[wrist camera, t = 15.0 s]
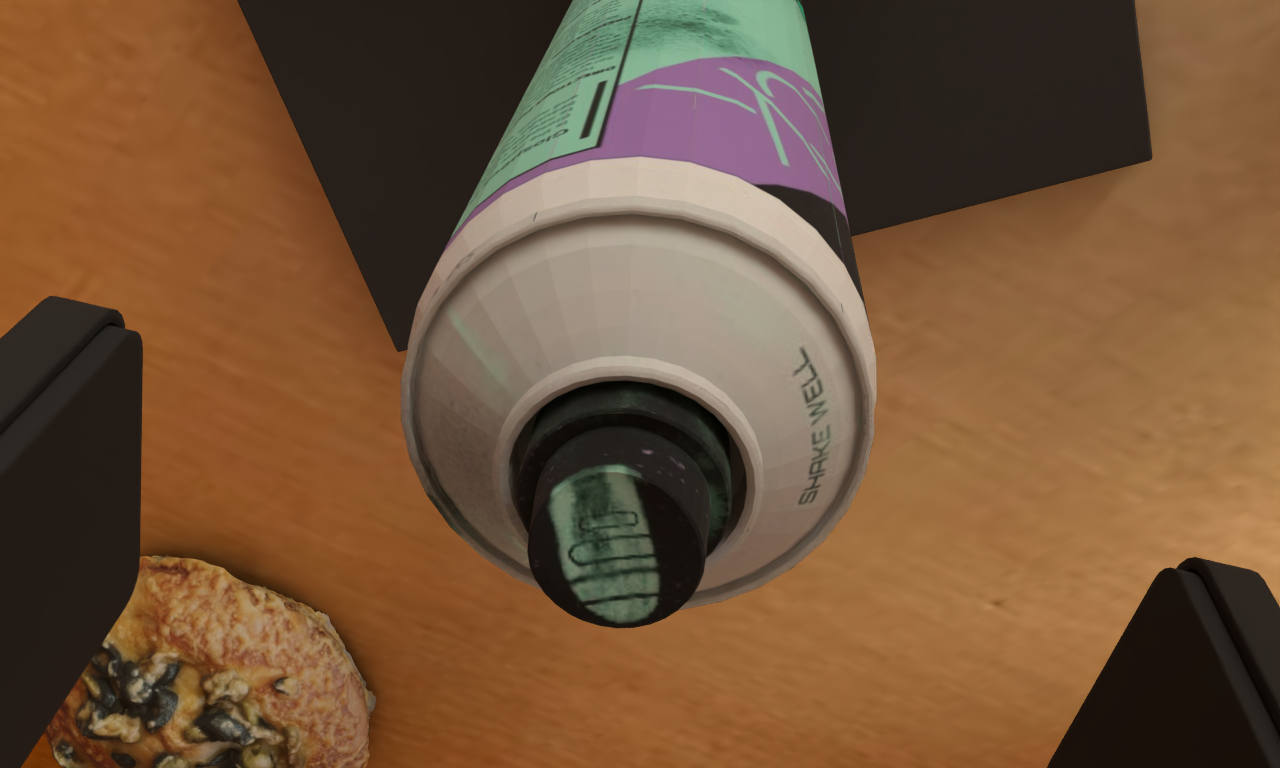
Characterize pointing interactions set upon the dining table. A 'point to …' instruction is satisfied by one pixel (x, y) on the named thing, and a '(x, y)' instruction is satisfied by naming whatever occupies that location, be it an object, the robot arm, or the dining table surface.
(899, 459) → the dining table surface
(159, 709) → the bread roll
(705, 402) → the spray can
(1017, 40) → the mat
